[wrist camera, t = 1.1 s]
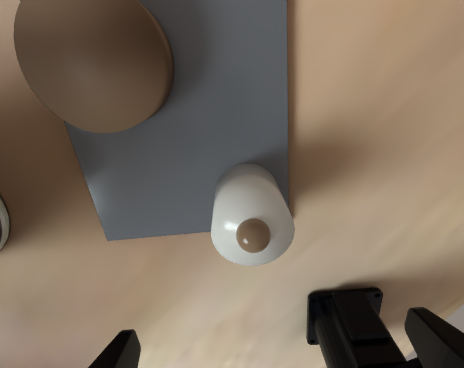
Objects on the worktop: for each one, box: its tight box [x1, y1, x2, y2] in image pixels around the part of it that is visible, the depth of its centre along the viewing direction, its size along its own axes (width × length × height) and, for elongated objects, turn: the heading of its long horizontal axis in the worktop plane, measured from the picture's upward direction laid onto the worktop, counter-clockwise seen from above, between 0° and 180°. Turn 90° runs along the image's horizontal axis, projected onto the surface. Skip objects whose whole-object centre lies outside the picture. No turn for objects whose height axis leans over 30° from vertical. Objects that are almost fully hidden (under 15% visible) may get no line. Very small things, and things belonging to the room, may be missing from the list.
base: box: [14, 0, 175, 133], centre depth 13 cm, size 7×7×2 cm
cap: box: [211, 163, 295, 266], centre depth 15 cm, size 4×4×6 cm
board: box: [20, 0, 289, 241], centre depth 16 cm, size 16×14×1 cm
